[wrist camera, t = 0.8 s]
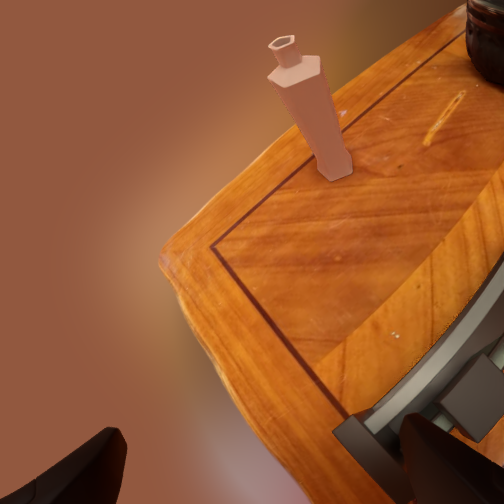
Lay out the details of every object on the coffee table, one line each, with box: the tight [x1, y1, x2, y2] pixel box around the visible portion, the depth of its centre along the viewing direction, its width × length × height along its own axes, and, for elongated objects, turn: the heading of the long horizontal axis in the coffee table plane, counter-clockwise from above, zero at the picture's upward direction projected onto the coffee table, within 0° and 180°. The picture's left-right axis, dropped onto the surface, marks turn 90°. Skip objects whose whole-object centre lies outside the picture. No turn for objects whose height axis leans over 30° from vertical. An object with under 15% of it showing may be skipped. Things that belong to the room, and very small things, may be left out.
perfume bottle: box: [267, 35, 353, 181], centre depth 25 cm, size 5×4×15 cm
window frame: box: [332, 252, 504, 504], centre depth 14 cm, size 5×18×11 cm, turn 127°
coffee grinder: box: [466, 0, 504, 85], centre depth 19 cm, size 13×15×18 cm
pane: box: [399, 333, 504, 454], centre depth 12 cm, size 2×7×11 cm, turn 127°
